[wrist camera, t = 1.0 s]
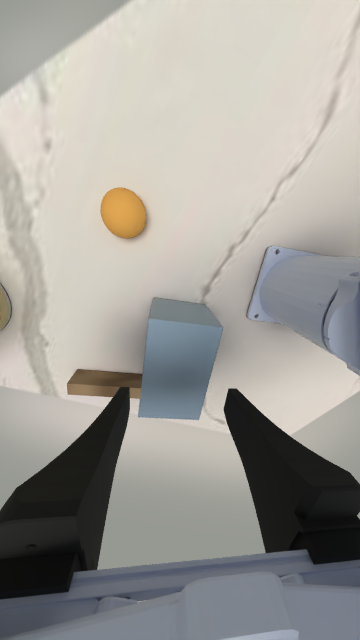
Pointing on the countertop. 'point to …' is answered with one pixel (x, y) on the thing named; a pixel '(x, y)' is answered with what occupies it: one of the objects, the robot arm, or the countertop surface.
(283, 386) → the countertop surface
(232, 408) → the robot arm
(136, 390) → the brown rectangular block
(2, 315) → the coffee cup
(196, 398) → the blue-grey rectangular block
